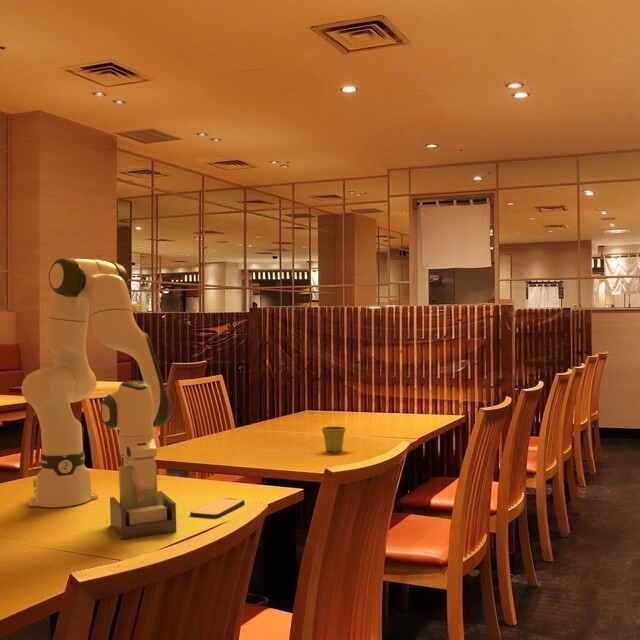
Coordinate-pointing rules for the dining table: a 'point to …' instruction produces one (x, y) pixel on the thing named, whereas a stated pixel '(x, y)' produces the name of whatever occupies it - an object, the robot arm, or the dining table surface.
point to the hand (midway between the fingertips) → (138, 500)
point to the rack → (144, 528)
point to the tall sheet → (130, 490)
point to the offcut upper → (146, 515)
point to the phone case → (217, 508)
